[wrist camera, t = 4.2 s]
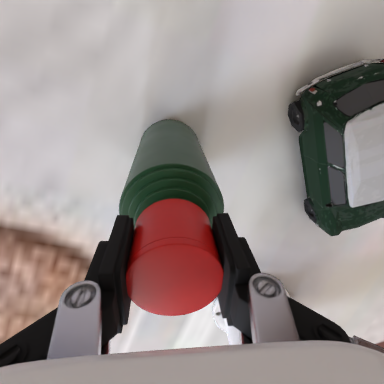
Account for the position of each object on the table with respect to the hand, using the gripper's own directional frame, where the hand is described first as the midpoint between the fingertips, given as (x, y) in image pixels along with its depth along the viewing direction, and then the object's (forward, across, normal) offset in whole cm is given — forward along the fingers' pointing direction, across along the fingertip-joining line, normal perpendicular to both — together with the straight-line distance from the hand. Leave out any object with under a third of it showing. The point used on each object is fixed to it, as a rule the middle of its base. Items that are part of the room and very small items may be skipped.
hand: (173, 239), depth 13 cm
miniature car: (+16, -19, 0) cm, 25 cm away
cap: (+1, 0, 0) cm, 1 cm away
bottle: (+16, 0, 0) cm, 16 cm away
